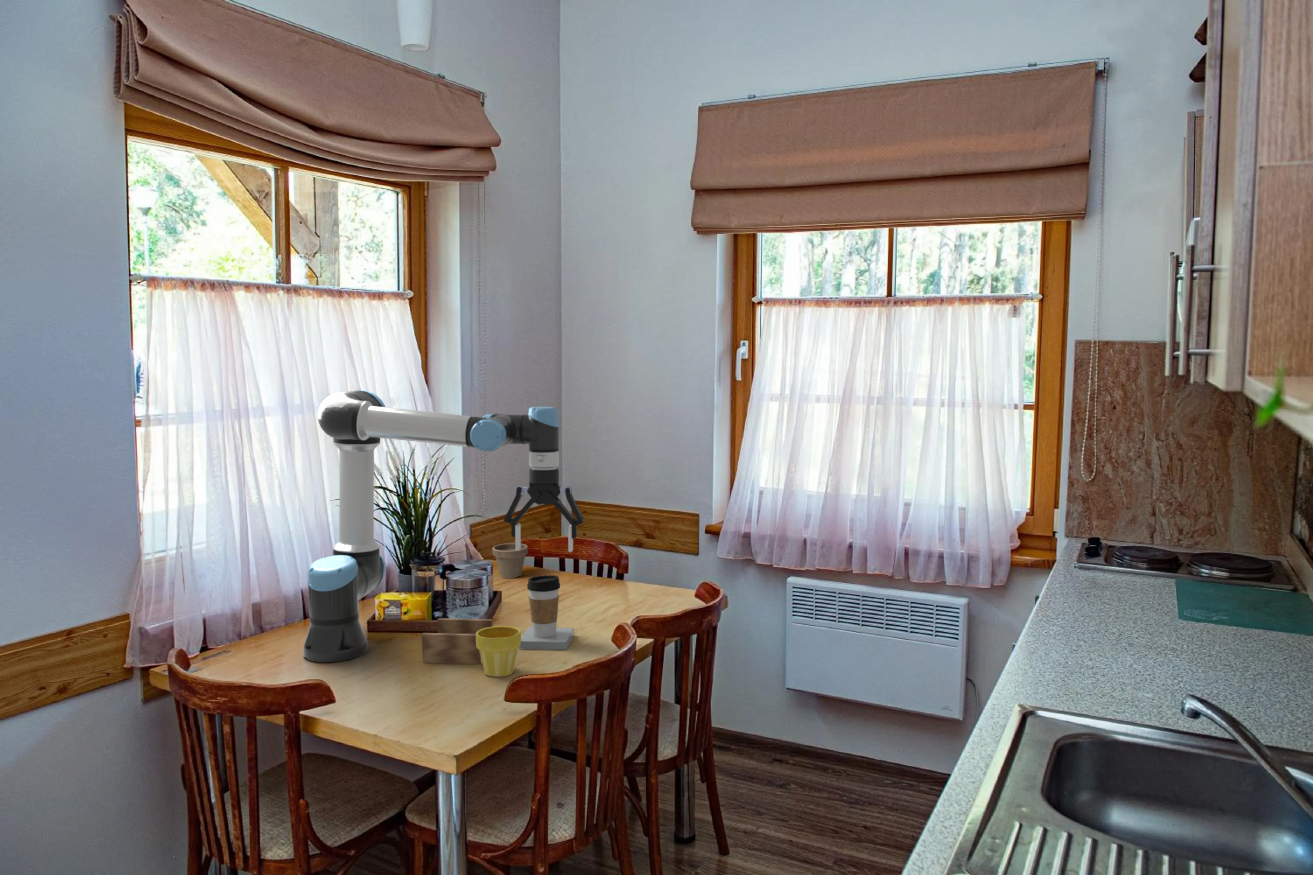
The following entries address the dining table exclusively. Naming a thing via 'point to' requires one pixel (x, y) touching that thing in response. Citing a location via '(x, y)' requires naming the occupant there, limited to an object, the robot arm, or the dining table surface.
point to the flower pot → (510, 559)
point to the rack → (454, 641)
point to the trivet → (547, 640)
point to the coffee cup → (544, 604)
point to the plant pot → (498, 649)
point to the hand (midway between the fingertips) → (544, 550)
